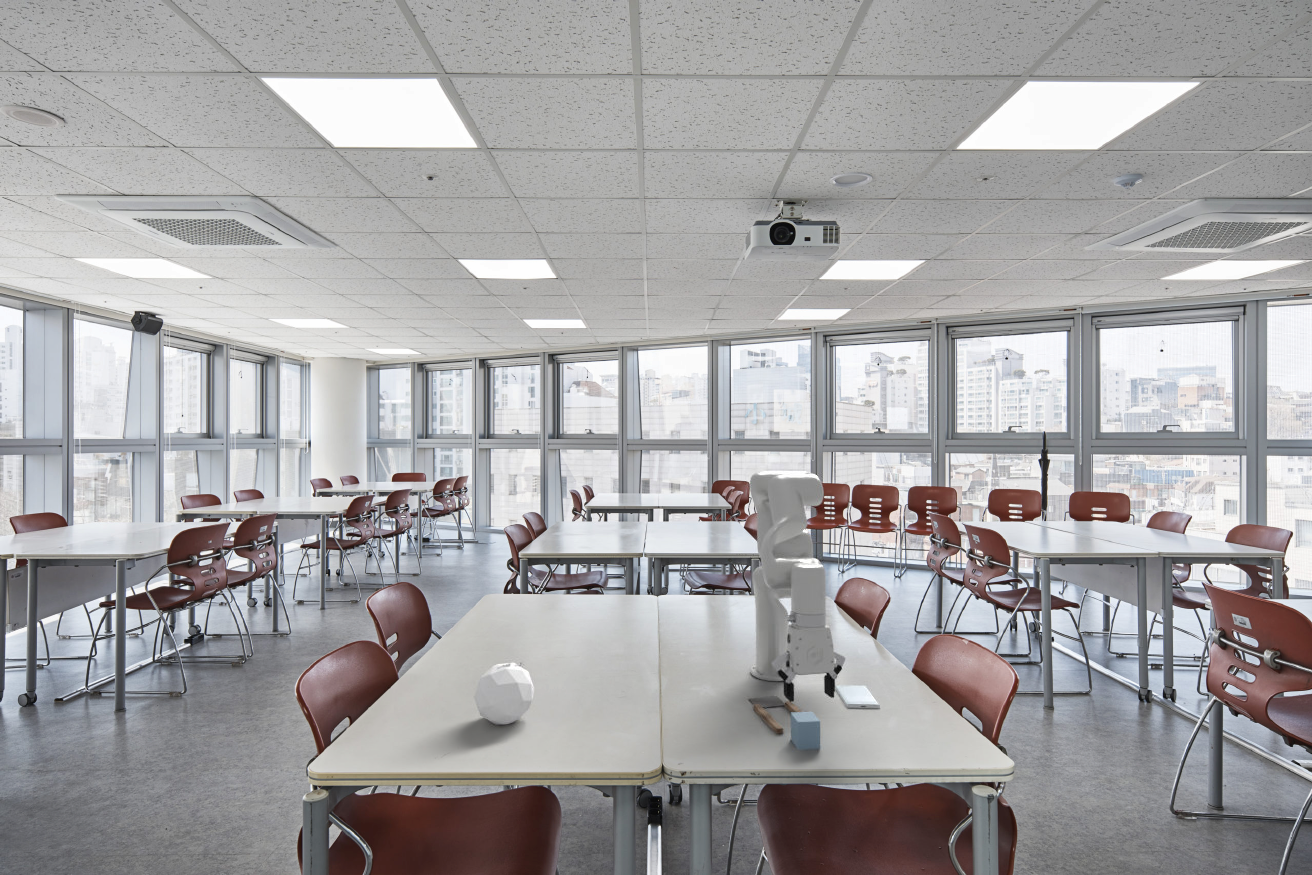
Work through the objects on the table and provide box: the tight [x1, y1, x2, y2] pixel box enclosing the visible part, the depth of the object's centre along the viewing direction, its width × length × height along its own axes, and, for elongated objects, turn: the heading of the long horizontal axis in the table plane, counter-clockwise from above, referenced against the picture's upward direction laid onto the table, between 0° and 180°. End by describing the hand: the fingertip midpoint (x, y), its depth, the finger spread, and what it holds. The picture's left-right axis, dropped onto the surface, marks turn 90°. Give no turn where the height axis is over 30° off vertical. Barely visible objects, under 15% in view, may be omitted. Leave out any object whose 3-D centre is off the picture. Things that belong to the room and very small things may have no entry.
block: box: [790, 711, 821, 751], centre depth 136 cm, size 5×5×6 cm
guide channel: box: [747, 695, 803, 735], centre depth 152 cm, size 20×10×1 cm, turn 13°
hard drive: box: [835, 684, 881, 709], centre depth 162 cm, size 2×8×12 cm
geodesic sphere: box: [473, 661, 535, 725], centre depth 149 cm, size 15×14×14 cm
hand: (809, 697), depth 136 cm, fingers open, 9 cm apart
